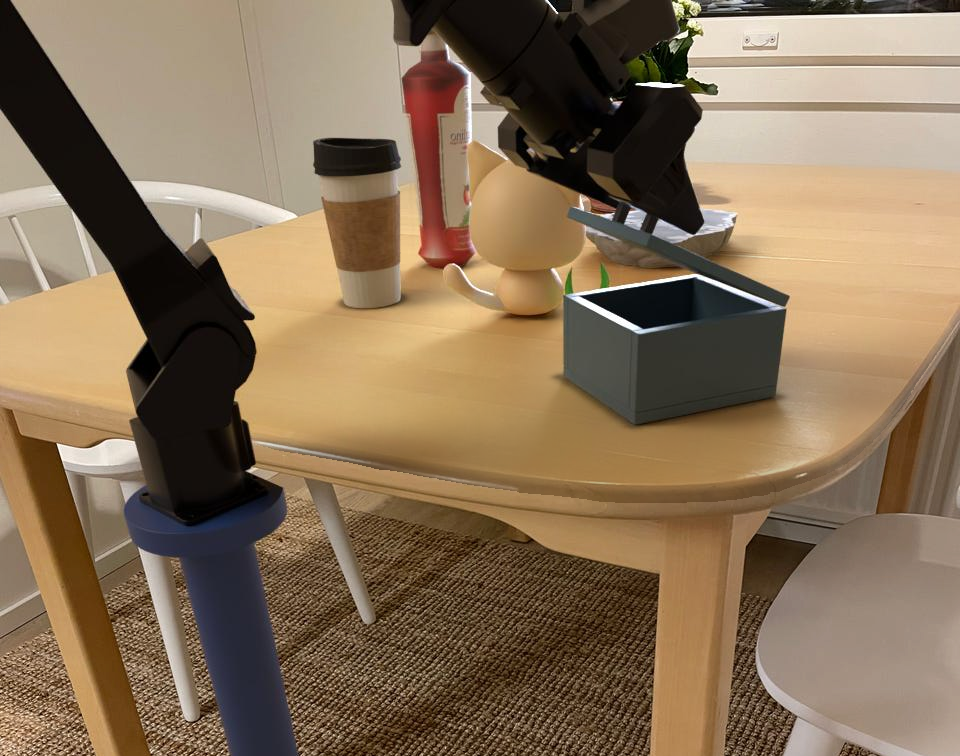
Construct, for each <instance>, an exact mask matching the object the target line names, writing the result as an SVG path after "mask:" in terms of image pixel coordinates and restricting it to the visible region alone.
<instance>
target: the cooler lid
mask: <svg viewBox="0 0 960 756" xmlns="http://www.w3.org/2000/svg"><path fill="white" fill-rule="evenodd" d="M630 208H631V207H630V206H627V205H625V204H623V203H621V202H619V204H618V206H617V209H615V211H614V213H615V214H614V216H613V219H612V220H610V219H607V218H604V217H601V216H599V214H595V213H592V212H589V211H588V210H587V211H586V210H585V209H584V210H581V209H578V208H575V207H573V206H571V207H570V209H569V212H568V214H567V217H568V218H570V219H572V220H575V221H577V222H579V223H582V224H584V225H586V226H588V227H591V228H593V229H595V230H598V231H600V232H602V233H605V234H607V235H609V236H611V237H614V238H616V239H618V240H621V241H623V242H625V243H628V244H630V245H632V246H634V247H637V248H639V249H641V250H644V251H646V252H648V253H651V254H653V255H655V256H657V257H660V258H662V259H664V260H667V261H669V262H671V263H674V264H676V265H678V267H680V268H683V269H684V270H688V271H690V272H692V273H694V274H698V275H700V276H703V277H705V278H708V279H711V280H713V281H716V282H718V283H721V284H724V285H726V286H729V287H731V288H734V289H736V290H739V291H742V292H744V293H747V294H749V295H752V296H755V297H757V298H760V299H762V300H765V301H768V302H770V303H773V304H775V305H778V306H780V307H783V308H785V307H786V306H787V304H788V302H789V300H790V298H791V296H790V295H789V294H787V293H785V292H782V291H779V290H777V289H776V288H773V287H770V286H768V285H766V284H764V283H762V282H760V281H757V280H755V279H753V278H750V277H749V276H746V275H744V274H742V273H739V272H737V271H734V270H733V269H730V268H729V267H726V266H724V265H722V264H720V263H717V262H716V261H713V260H710V259H708V258H707V257H706V258H704V257H702V256H699V255H697V254H695V253H693V252H690V251H688V250H686V249H684V248H682V247H679V246H677V245H675V244H673V243H670V242H668V241H666V240H664V239H661V238H659V237H657V236H655V235H653V231H654V229H655V226H656V224H657V222H658V219H656V218H654V217H651V216H649V215H647V214H646V216H645V218H644V221H643V223H642V226H641V228H640V230H638V229H636V228H633V227H630V226H627V225H624V223H625V221H626V218H627V216H628V213H629V211H631V210H630ZM631 209H632V208H631Z"/></svg>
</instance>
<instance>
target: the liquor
mask: <svg viewBox="0 0 960 756" xmlns="http://www.w3.org/2000/svg"><path fill="white" fill-rule="evenodd" d="M471 74H472V73H471V72H470V71H468V69H466V68H465V66H464V65H462V64H460V63H458V62H456V61H454V60H451V59H450V53H449V46H448V45H447V44H446V43H445V42H444V41H443V40H442V39H441V37H440V36H439V35H438V34H437V33H436V32H435V31H434V30H433V29H431V31H430V32H429V33H428V35H427V36H426V38H425V39H424V41H423V42H422V44H421V45H420V61H418V62H416V64H414V65H412V66H411V67H410V68H408V70H407V71H406V72H405V74H403V75H402V77H401V83H402V84H401V86H402V93H403V101H404V111H405V119H406V129H407V136H408V143H409V150H410V157H411V164H412V171H413V172H412V173H413V180H414V181H413V182H414V188H415V189H414V190H415V196H416V205H417V215H418V227H419V235H420V236H419V237H420V244H421V245H420V247H419V250H418V252H417V254H418V255H419V257H420V258H421V259H422V260H424V262H425V263H426V264H428V265H429V267H432V268H437V269H438V268H439V269H444V268H445V267H446V266H447V265H448V264H456V265H457V266H459V267H463V266H465V265H466V264H467V263H468V262H470V260H471V259H472V258H473V256H474V255H476V253H477V251H476V250H475V248H474V246H473V243H472V240H471V237H470V230H469V216H470V209H471V200H470V195H469V167H468V159H467V149H468V145H469V144H470V142H471V141H472V77H471V76H472V75H471Z"/></svg>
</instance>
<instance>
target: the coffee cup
mask: <svg viewBox="0 0 960 756" xmlns="http://www.w3.org/2000/svg"><path fill="white" fill-rule="evenodd" d="M312 144H313V145H312V147H313V164H312V166H313V168H314V172H313V173H314V174H315V175H317V176H318V178H319V182H320V188H321V192H322V193H321V194H322V196H321V203H322V208H323V213H324V217H325V220H326V227H327V231H328V235H329V239H330V243H331V249H332V253H333V257H334V262H335V267H336V268H337V274H338V278H339V284H340V289H341V295H342V300H343V303H344V305H346V306H347V307H350V308H355V309H376V308H384V307H388V306H392V305H394V304H397V303H399V302H400V300H401V299H402V286H401V191H400V190H399V179H398V174H399V173H398V170H399V169H401V168H402V165H401V161H402V158H401V155H400V154H399V150H398V149H399V148H398V145H397V141H396V140H394V139H391V138H389V139H388V138H359V137H358V138H357V137H324V138H318V139H315V140H313V141H312Z"/></svg>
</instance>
